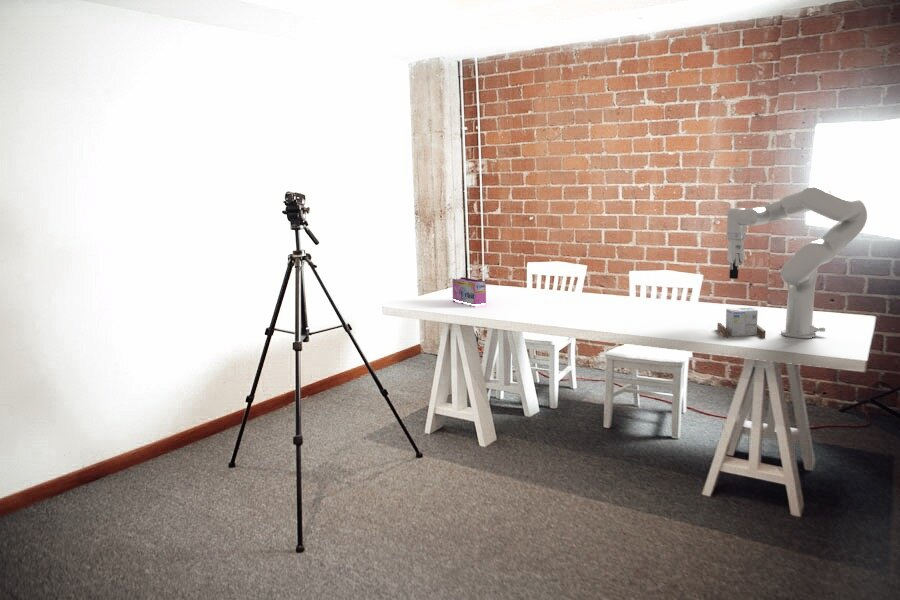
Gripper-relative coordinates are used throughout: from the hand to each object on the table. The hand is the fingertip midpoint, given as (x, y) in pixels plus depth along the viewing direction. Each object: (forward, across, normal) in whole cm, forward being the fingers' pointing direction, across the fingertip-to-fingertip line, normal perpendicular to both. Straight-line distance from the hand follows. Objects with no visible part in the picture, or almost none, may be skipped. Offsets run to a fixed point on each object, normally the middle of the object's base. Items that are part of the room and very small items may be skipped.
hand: (733, 278), depth 282 cm
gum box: (+23, +51, +127) cm, 139 cm away
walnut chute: (+21, -16, 0) cm, 26 cm away
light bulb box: (+22, -16, 0) cm, 27 cm away
